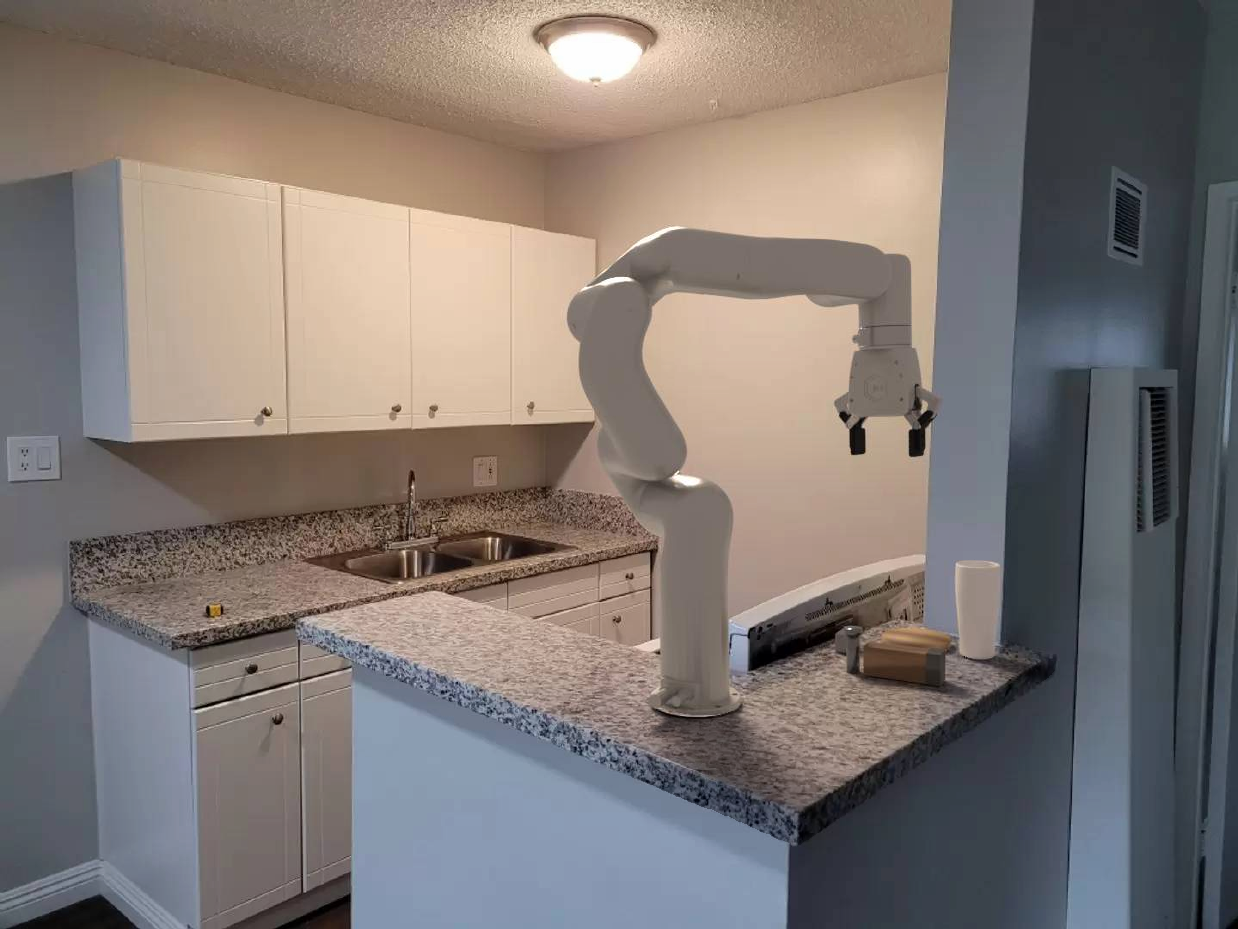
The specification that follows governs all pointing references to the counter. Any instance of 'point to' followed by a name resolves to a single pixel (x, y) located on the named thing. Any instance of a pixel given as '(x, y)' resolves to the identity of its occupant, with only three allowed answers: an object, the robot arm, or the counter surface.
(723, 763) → the counter surface
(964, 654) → the drinking glass
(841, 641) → the stop block
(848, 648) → the pivot pin
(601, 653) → the counter surface
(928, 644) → the wooden coaster
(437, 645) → the counter surface
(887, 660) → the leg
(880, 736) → the counter surface
